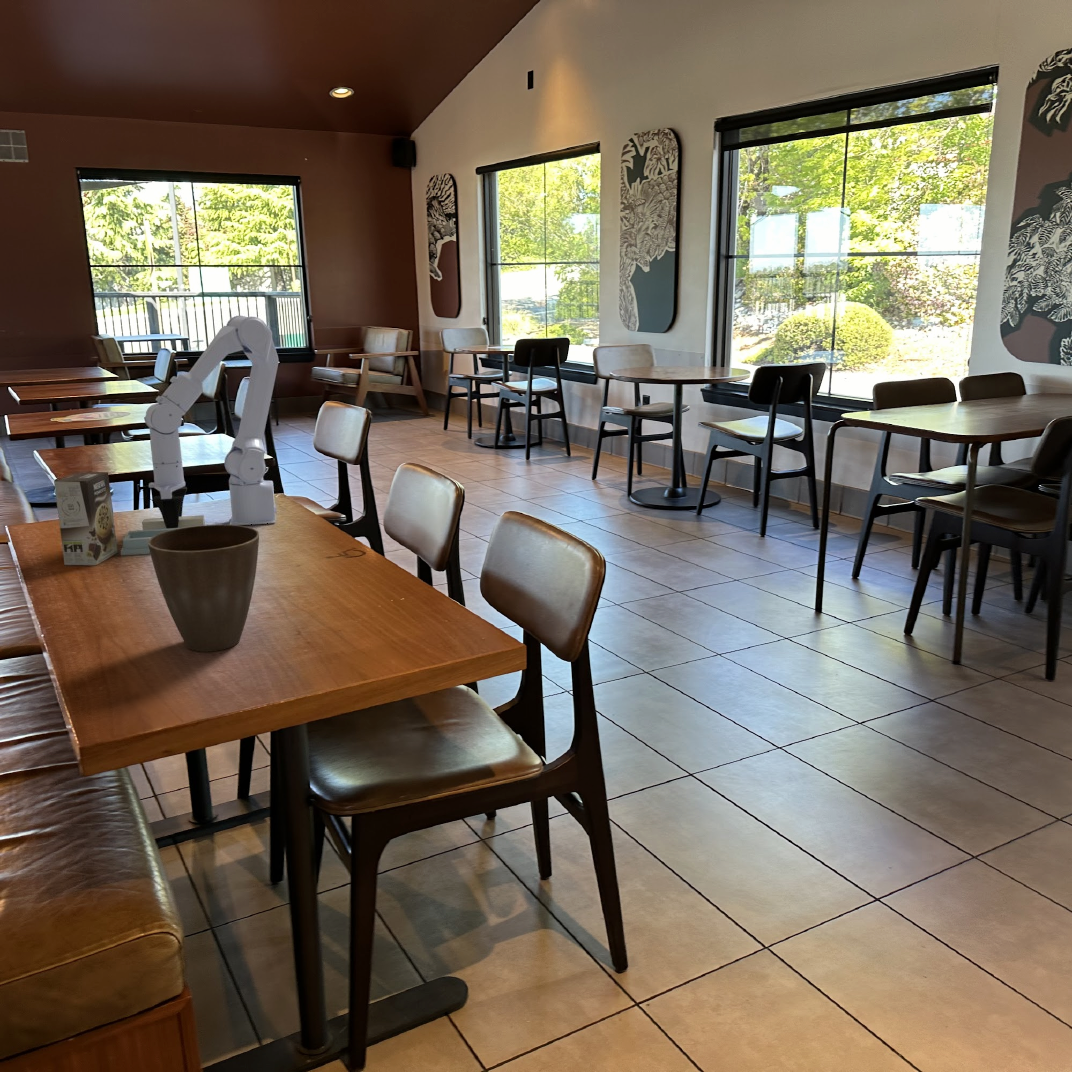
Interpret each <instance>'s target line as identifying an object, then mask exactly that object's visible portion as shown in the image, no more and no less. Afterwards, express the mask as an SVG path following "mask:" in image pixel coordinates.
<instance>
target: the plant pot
mask: <svg viewBox="0 0 1072 1072" xmlns="http://www.w3.org/2000/svg"><path fill="white" fill-rule="evenodd" d="M259 543H260V533H259V531H258V530H256V529H255V528H253V527H249V526H246V525H230V524H205V525H201V526H191V527H184V528H179V529H174V530H170V531H166V532H163V533H160V534H157V535H155V536H153V537H151V538H150V539H149V540H148V546H149V550H150V557H151V560H152V561H151V562H152V565H153V568H154V572H155V575H156V579H157V582H158V585H159V588H160V590H161V593H162V595H163V599H164V601H165V603H166V606H167V609H168V611H169V613H170V616H171V618H172V620H173V623H174V625H175V626H176V628H177V630H178V632H179V635H180V636H181V638H182V640H183V641H184V644H185V646H186V647H187V648H188V649H189V650H192V651H194V652H195V651H196V652H202V653H203V652H205V653H206V652H216V651H222V650H226V649H230V648H232V647H234V646H236V645H237V644H239V642H240V640H241V638H242V635H243V632H244V628H245V625H246V622H247V618H248V614H249V610H250V606H251V603H252V602H251V601H252V597H253V596H252V595H253V591H254V586H255V579H256V574H257V565H258V557H259Z"/></svg>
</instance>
